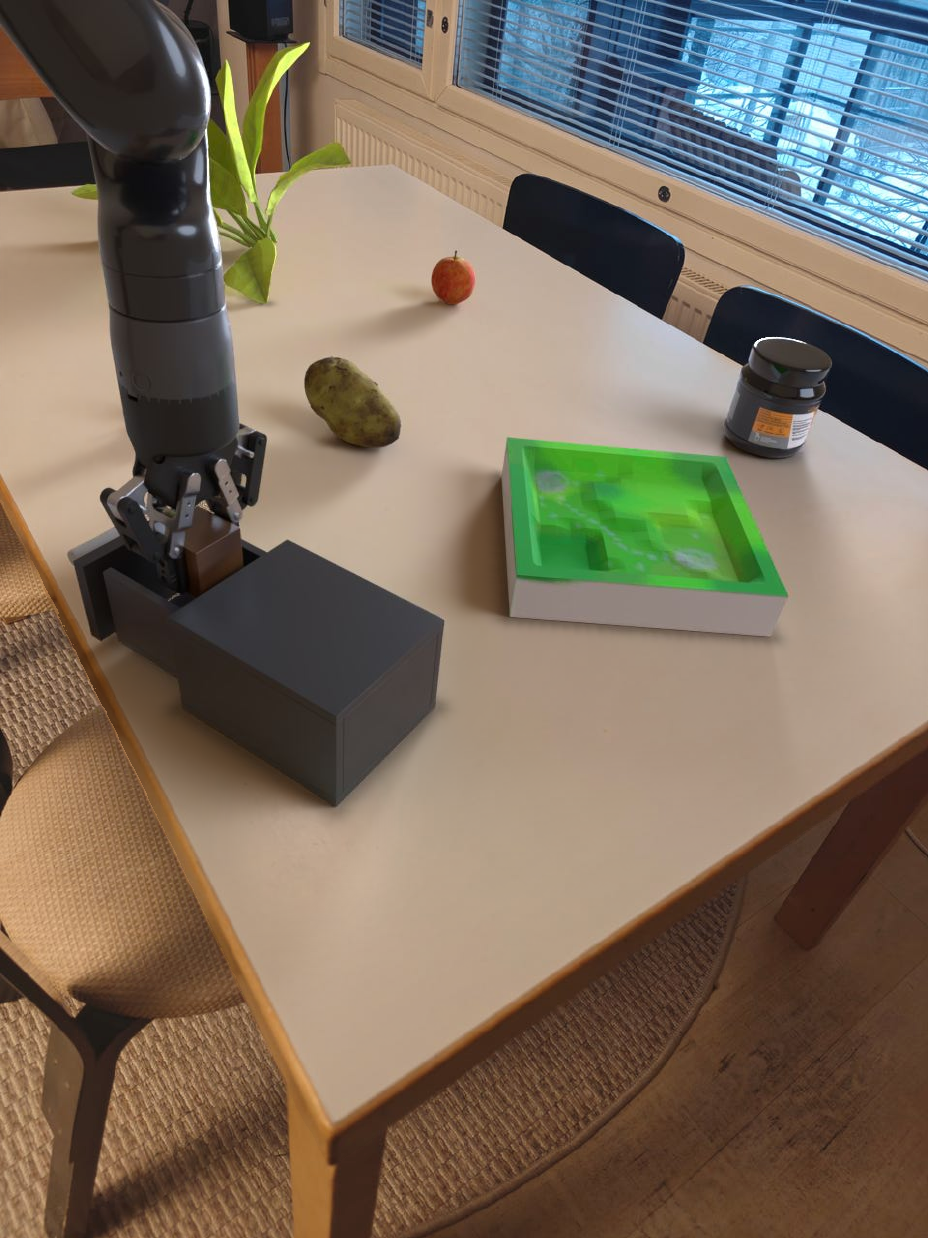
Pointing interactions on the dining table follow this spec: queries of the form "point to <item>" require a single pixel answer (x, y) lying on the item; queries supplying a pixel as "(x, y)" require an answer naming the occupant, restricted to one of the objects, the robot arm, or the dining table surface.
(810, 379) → the supplement container
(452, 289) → the fruit
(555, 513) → the tray
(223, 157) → the artificial plant
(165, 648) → the drawer
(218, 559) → the block
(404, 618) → the cabinet
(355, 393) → the potato
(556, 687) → the dining table surface
